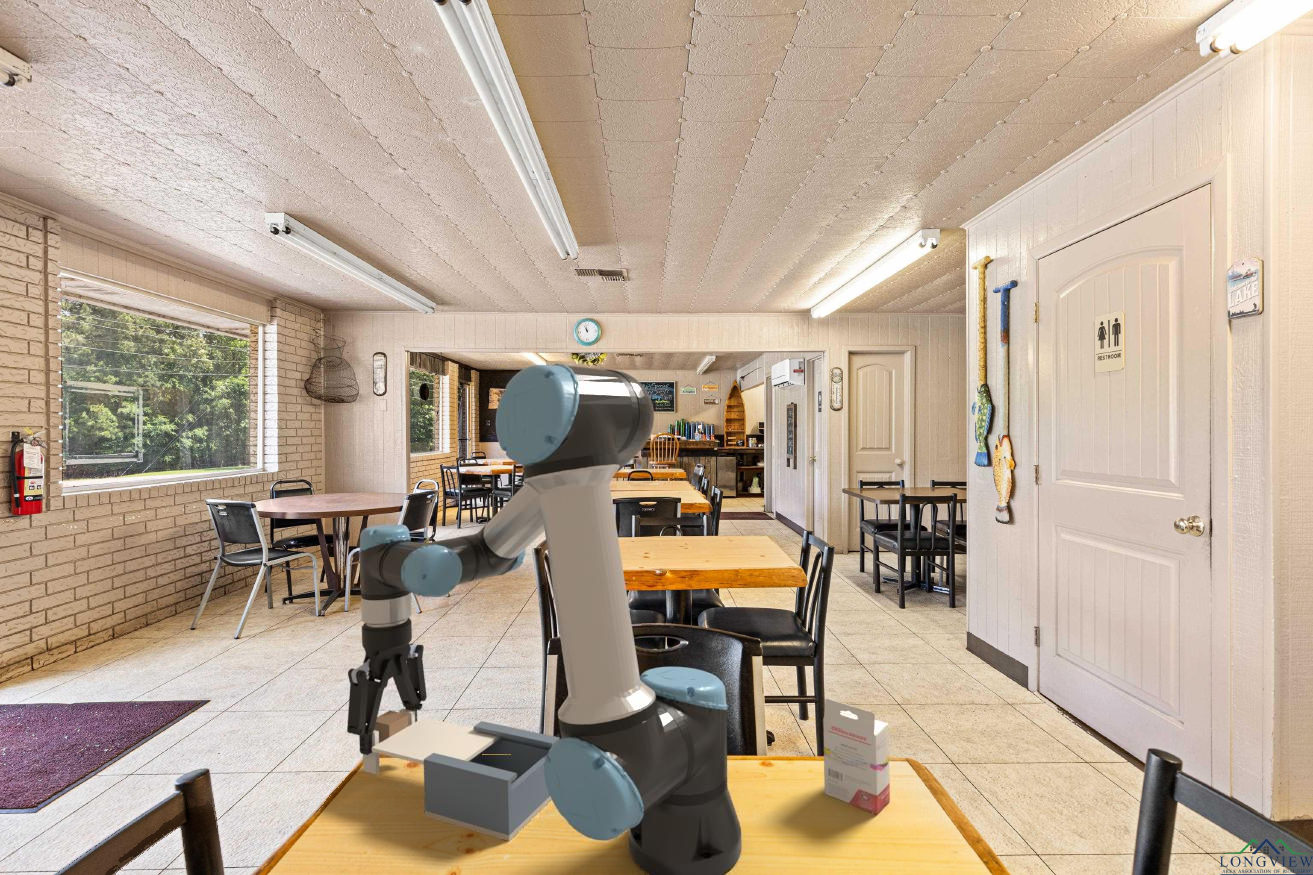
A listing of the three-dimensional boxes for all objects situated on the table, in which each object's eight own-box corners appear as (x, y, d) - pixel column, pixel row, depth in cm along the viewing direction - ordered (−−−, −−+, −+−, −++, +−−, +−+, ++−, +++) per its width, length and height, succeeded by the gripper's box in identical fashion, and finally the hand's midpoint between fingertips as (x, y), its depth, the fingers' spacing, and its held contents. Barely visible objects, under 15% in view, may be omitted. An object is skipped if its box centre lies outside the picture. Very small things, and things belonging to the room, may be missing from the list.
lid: (500, 746, 103) (500, 721, 103) (453, 781, 93) (452, 754, 93) (406, 724, 111) (405, 701, 111) (353, 755, 101) (352, 730, 101)
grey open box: (560, 790, 99) (559, 737, 99) (509, 841, 88) (507, 780, 87) (482, 771, 106) (481, 720, 105) (424, 815, 94) (423, 759, 93)
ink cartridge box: (891, 800, 95) (890, 703, 95) (877, 816, 92) (876, 714, 92) (838, 779, 101) (837, 687, 101) (822, 793, 98) (821, 697, 97)
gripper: (414, 602, 115) (417, 728, 116) (316, 636, 97) (320, 786, 97) (447, 606, 112) (450, 736, 113) (352, 642, 94) (356, 797, 94)
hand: (390, 759), depth 105 cm, fingers open, 7 cm apart
